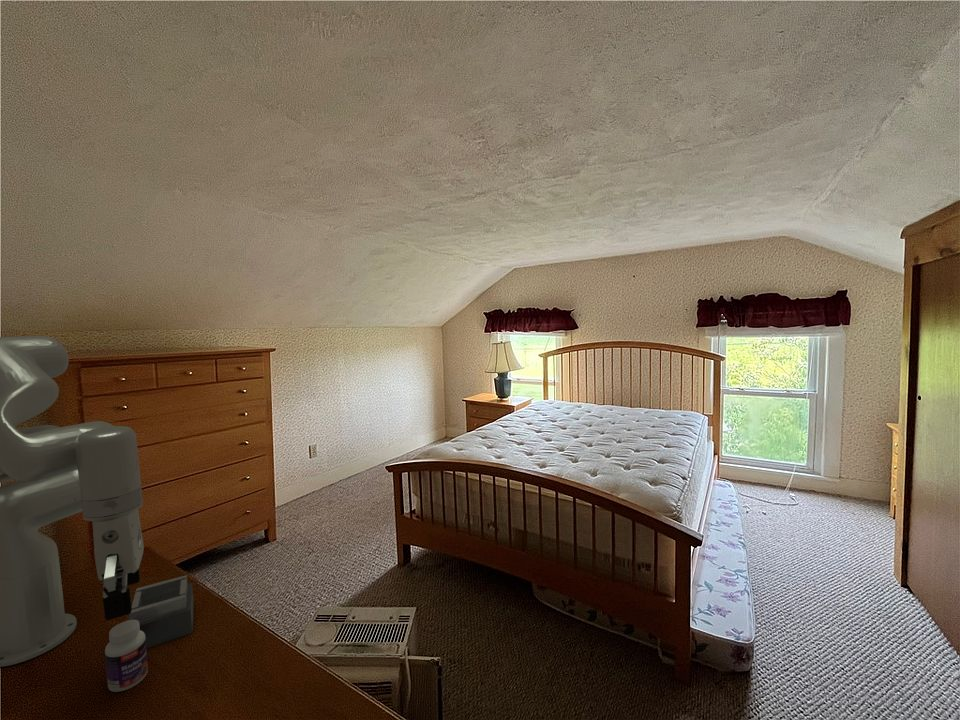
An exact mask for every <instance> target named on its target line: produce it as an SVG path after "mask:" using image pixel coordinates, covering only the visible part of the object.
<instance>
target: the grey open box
mask: <svg viewBox="0 0 960 720" xmlns="http://www.w3.org/2000/svg"><path fill="white" fill-rule="evenodd" d="M188 581H189V580H188V574H186V575H182V576H178V577H174V578H171V579H167V580H163V581H159V582H156V583H152V584H148V585H144V586H141V587H138V588H137V587H136V588H135V593H134V596H133V599H132V601H131V606H132V611H131V613H130V614H128V618H127V621H128V620H137V621H139V626H140V630H141V631H143V632H144V633H145V637H146V649H149V648H151V647H155V646H158V645H161V644H163V643H164V644H165V643H167V642H169V641H174V640H176V639H179V638H182V637H185V636H189V635H191V634H193V629H194V628H193V627H194V609H195V608H194V606H195V604H194V593H193V592H194V589H193V582H190V583H189V582H188Z"/></svg>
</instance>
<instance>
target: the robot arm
mask: <svg viewBox="0 0 960 720" xmlns="http://www.w3.org/2000/svg"><path fill="white" fill-rule="evenodd" d="M69 358H70V357H69V354H68V351H67V349H66V348H65V347H64V346H63V344H62V343H60V342H59V341H58V340H56V339H54V338H52V337H50V336H47V335H23V336H22V335H21V336H19V335H18V336H17V335H14V336H13V335H12V336H0V484H2V483H6V482H10V481H13V482H10V483H7V484H3V485H0V668H2V667H9V666H13V665H18V664H21V663H22V662H26V661H29V660H31V659H34V658H36V657H38V656H41V655H43V654H45V653H47V652H49V651H51V650H52V649H54V648H56V647H57V646H58V645H60V644H62V643H64V641H65V640H67V639H68V638H69V637H70V636H71V635H72V634H73V633H74V632H75V630H76V629H77V624H78V622H77V617H75V615H73V614H71V613H65V603H64V595H63V585H62V574H61V566H60V557H59V549H58V546H57V543H56V542H55V540H53V539H52V538H50V537H49V536H46V535H45V534H42V533H40V532H39V529H41V528H42V527H45V526H47V525H49V524H51V523H55V522H57V521H59V520H63V519H66V518H68V517H71V516H73V515H75V514H79V513H81V512H82V518H83V520H84V521H88V522H92V532H93V533H92V536H93V547H94V548H93V549H94V551H93V552H94V558H95V566H96V567H95V568H96V572H97V578H98V580H99V581H100V582H101V581H102V582H103V585H102V588H103V590H102V602H103V609H104V611H103V612H104V619H105V621H111V620H114V619H117V618H120V617H123V616H127V615H128V616H129V614H130V613H131V611H132V600H131V589H130V588H128V586H131V585H136V584H138V583H139V582H140V579H141V578H140V569H139V568H140V565H141V561H142V559H143V555H144V549H145V546H144V538H143V532H142V525H141V520H140V513H139V509H140V508H141V507H143V505H144V502H143V501H144V498H143V492H142V489H143V488H142V482H141V480H142V479H141V473H140V472H141V471H140V461H139V452H138V451H139V450H138V442H137V441H138V440H137V434H136V432H135V430H134V429H133V428H131V427H129V426H124V425H116V426H115V425H113V424H112V423H110V422H108V421H107V422H106V421H101V420H96V421H89V422H81V423H77V424H71V425H65V426H62V427H60V426H57V425H53V424H43V425H42V424H39V425H35V426H29V427H24V428H19V429H17V426H19V425H21V424H22V423H25V422H27V421H28V420H30V419H32V418H34V417H35V416H36V417H37V416H38V415H39V414H42V413H43V412H45V411H46V410H47V409H49V408H50V407H51V406H52V405H54V403H55V402H56V400H57V399H58V397H59V393H60V387H59V386H58V384H57V382H56V381H55V380H54V378H57V377H59V376H61V375H63V374H64V373H65V372H66V370H67V369H68V367H69V363H70V361H69Z"/></svg>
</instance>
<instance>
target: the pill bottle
mask: <svg viewBox="0 0 960 720" xmlns="http://www.w3.org/2000/svg"><path fill="white" fill-rule="evenodd" d="M108 641H109V642H108V643H107V645H106V646H105V648H104V656H105V657H104V658H105V669H106V680H107V688H108V691H111V692H112V693H118V692H119V693H120V692H123V691H127V690H129V689H131V688H134V687H135V686H137V685H138V684H140V683H141V682H142V681H143V680H144V679H145V677H146V676H147V674H148V672H149V665H148V653H147V651H148V650H147V648H146V637H145V633H144V632H143V631H141V630H140V626H139V621H137V620H128V619H127V620H125V621H122V622H120V623H118V624H116V625H115V626H113V627H112V628H110V630H109V632H108Z"/></svg>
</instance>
